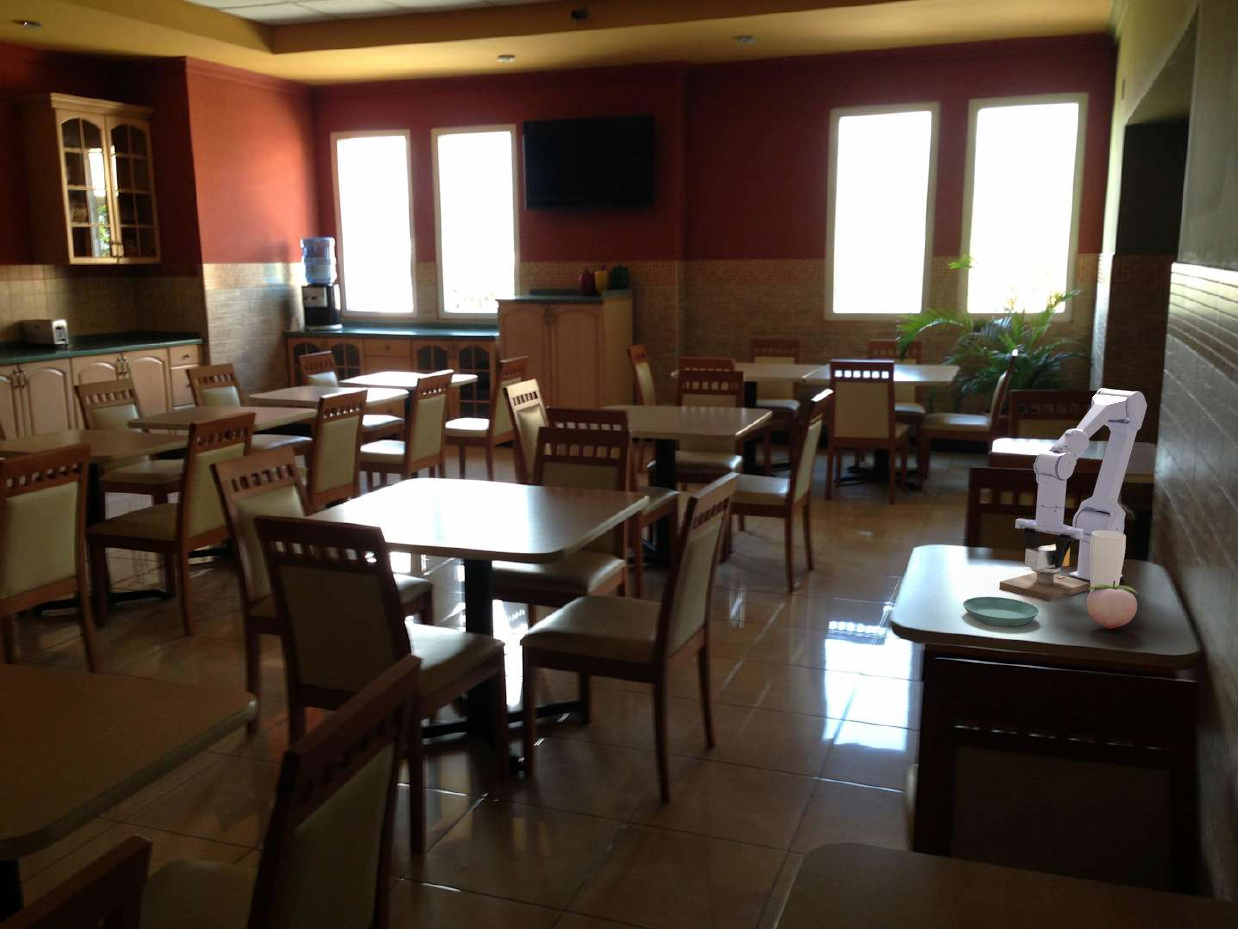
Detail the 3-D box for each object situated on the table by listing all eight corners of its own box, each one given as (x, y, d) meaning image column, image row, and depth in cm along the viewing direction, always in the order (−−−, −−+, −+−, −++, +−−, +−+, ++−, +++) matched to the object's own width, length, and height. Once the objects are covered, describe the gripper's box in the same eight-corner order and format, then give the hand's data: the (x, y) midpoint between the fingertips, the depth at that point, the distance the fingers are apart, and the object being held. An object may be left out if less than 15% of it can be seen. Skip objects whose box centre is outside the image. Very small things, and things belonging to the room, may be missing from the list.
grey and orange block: (1020, 569, 233) (1022, 546, 232) (1051, 565, 237) (1053, 542, 236) (1040, 576, 228) (1042, 553, 227) (1072, 571, 231) (1074, 549, 230)
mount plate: (1041, 576, 242) (1042, 560, 241) (1089, 589, 232) (1090, 572, 232) (999, 588, 233) (1000, 570, 233) (1047, 601, 223) (1048, 583, 223)
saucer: (1041, 614, 216) (1042, 601, 215) (1034, 635, 203) (1035, 622, 202) (967, 604, 222) (968, 592, 222) (957, 624, 209) (958, 611, 209)
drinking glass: (1080, 601, 224) (1086, 533, 221) (1092, 594, 229) (1098, 528, 226) (1113, 608, 219) (1119, 539, 216) (1124, 601, 224) (1131, 534, 221)
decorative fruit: (1095, 636, 202) (1099, 586, 200) (1078, 622, 210) (1082, 575, 208) (1144, 637, 201) (1148, 587, 199) (1126, 623, 209) (1130, 575, 208)
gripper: (1010, 502, 232) (1006, 561, 234) (1075, 513, 222) (1070, 574, 224) (1025, 498, 237) (1020, 555, 239) (1089, 508, 226) (1084, 568, 229)
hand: (1045, 564), depth 232 cm, fingers closed on grey and orange block, 5 cm apart
